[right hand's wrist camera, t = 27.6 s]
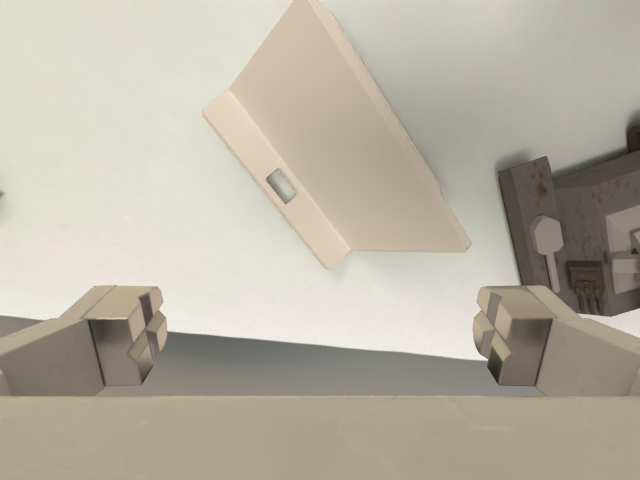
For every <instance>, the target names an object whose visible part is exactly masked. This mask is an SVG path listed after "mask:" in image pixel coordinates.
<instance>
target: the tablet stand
mask: <svg viewBox="0 0 640 480" xmlns="http://www.w3.org/2000/svg"><path fill="white" fill-rule="evenodd" d="M202 115H203V117H204V118H205V120H206V121H207V122H208V123H209V125H210V126H211V127H212V128H213V130H214V131H215V132H216V133H217V135H218V136H219V137H220V138H221V140H222V141H223V142H224V143H225V145H226V146H227V147H228V148H229V150H230V151H231V152H232V153H233V155H234V156H235V157H236V158H237V160H238V161H239V162H240V163H241V165H242V166H243V167H244V168H245V170H246V171H247V172H248V173H249V175H250V176H251V177H252V178H253V180H254V181H255V182H256V183H257V185H258V186H259V187H260V188H261V190H262V191H263V192H264V193H265V194H266V196H267V197H268V198H269V199H270V201H271V202H272V203H273V204H274V206H275V207H276V208H277V209H278V211H279V212H280V213H281V214H282V216H283V217H284V218H285V219H286V221H287V222H288V223H289V224H290V226H291V227H292V228H293V229H294V231H295V232H296V233H297V234H298V236H299V237H300V238H301V239H302V241H303V242H304V243H305V244H306V246H307V247H308V248H309V249H310V251H311V252H312V253H313V254H314V256H315V257H316V258H317V259H318V261H319V262H320V263H321V264H322V266H323V267H324V268H326V269H334V268H335V267H336V266H337V265H338V264H339V263H340V261H341V260H342V259H343V258H344V257H345V256H346V255H347V254H348V253H349V252H350V251H399V252H448V253H465V252H466V251H467V250H468V248H469V247H470V246H471V244H472V243H471V240H470V239H469V237H468V235H467V234H466V232H465V231H464V229H463V227H462V226H461V224H460V223H459V221H458V220H457V218H456V216H455V215H454V213H453V212H452V210H451V209H450V207H449V205H448V204H447V202H446V201H445V199H444V197H443V196H442V194H441V193H440V190H441V186H440V184H439V183H438V181H437V180H436V178H435V176H434V175H433V173H432V172H431V170H430V169H429V167H428V165H427V164H426V162H425V161H424V159H423V157H422V156H421V154H420V153H419V151H418V149H417V148H416V146H415V145H414V143H413V142H412V140H411V138H410V137H409V135H408V134H407V132H406V130H405V129H404V127H403V126H402V124H401V122H400V121H399V119H398V118H397V116H396V115H395V113H394V111H393V110H392V108H391V107H390V105H389V103H388V102H387V100H386V99H385V97H384V95H383V94H382V92H381V91H380V89H379V88H378V86H377V84H376V83H375V81H374V80H373V78H372V76H371V75H370V73H369V72H368V70H367V68H366V67H365V65H364V64H363V62H362V61H361V59H360V57H359V56H358V54H357V53H356V51H355V49H354V48H353V46H352V45H351V43H350V41H349V40H348V38H347V37H346V35H345V33H344V32H343V30H342V29H341V27H340V26H339V24H338V22H337V21H336V19H335V18H334V16H333V14H332V13H331V12H330V11H328V10H324V8H323V6H322V5H321V3H320V2H319V0H294V1H293V2H292V4H291V5H290V6H289V8H288V9H287V11H286V12H285V13H284V15H283V16H282V17H281V19H280V20H279V21H278V23H277V24H276V26H275V27H274V28H273V30H272V31H271V32H270V34H269V35H268V36H267V38H266V39H265V40H264V42H263V43H262V45H261V46H260V47H259V49H258V50H257V51H256V53H255V54H254V55H253V57H252V58H251V60H250V61H249V62H248V64H247V65H246V66H245V68H244V69H243V70H242V72H241V73H240V74H239V76H238V77H237V79H236V80H235V81H234V83H233V84H232V85H231V87H230V88H229V89H228V90H227V91H226V92H224V93H223V94H221V95H220V96H219V97H217V98H216V99H214V100H213V101H211V102H210V103H209V104H207V105H206V106H205V107H204V109H203V111H202ZM276 169H278V170H279V171H280V173H281V174H282V175H283V177H284V178H285V179H286V180H287V182H288V183H289V184H290V186H291V187H292V188H293V190H294V191H295V192H296V195H295V196H294V197H293V198H292V199H291V200H290V201H289V202H288V203H286V204H284V203H283V201H282V200H281V199H280V198H279V196H278V195H277V194H276V192H275V191H274V190H273V189H272V187H271V186H270V185H269V184H268V182H267V181H266V178H267V177H268V176H269V175H270V174H271V173H272V172H273V171H275V170H276Z"/></svg>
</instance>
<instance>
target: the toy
mask: <svg viewBox="0 0 640 480" xmlns="http://www.w3.org/2000/svg"><path fill="white" fill-rule="evenodd" d="M628 138H629V148H630V154H627V155H624V156H621V157H619V158H616V159H613V160H610V161H607V162H604V163H601V164H598V165H596V166H593V167H590V168H587V169H584V170H581V171H578V172H576V173H573V174H570V175H567V176H564V177H561V178H558V179H555V180H552V174H551V169H550V165H549V162H548V159H547V156H545V157H542V158H539V159H536V160H533V161H530V162H527V163H525V164H522V165H519V166H516V167H513V168H510V169H507V170H502V171H499V183H500V187H501V192H502V196H503V200H504V205H505V209H506V214H507V218H508V223H509V227H510V232H511V236H512V241H513V245H514V250H515V254H516V258H517V263H518V267H519V272H520V276H521V281H522V285H523V286H534V285H542V286H546V287H547V288H548V289H550V290H551V291H552V292H553V293H554V294H555V295H556V296H557V297H559V298H560V299H561V300H562V301H563V302H564V303H565V304H567V305H568V306H569V307H570V308H571V309H572V310H573V311H574V312H576V313H580V314H590V315H600V316H610V317H611V316H615V315H618V314H621V313H625V312H628V311H631V310H635V309H638V308H640V124H639V125H637V126H634V127H632V128H631V129H630V130H629V133H628Z"/></svg>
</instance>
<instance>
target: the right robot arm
mask: <svg viewBox="0 0 640 480" xmlns="http://www.w3.org/2000/svg"><path fill="white" fill-rule="evenodd" d="M162 303H163V299H162V294H161V290H160V289H159V288H158V287H157V286H117V285H107V286H94V287H93V288H92V289H91V290H89V291H88V292H87V293H86V294H85V295H84V296H83V297H81V298H80V299H79V300H78V301H77V302H76V303H75V304H74V305H72V306H71V307H70V308H69V309H68V310H67V311H66V312H64V313H63V314H62V315H61V316H60V317H59V318H58V319H49V320H46V321H43V322H41V323H38V324H36V325H33V326H31V327H28V328H25V329H23V330H20V331H18V332H15V333H13V334H10V335H8V336H5V337H2V338H0V480H640V338H638V337H635V336H632V335H630V334H627V333H625V332H622V331H620V330H617V329H615V328H612V327H609V326H607V325H604V324H602V323H599V322H597V321H594V320H591V319H582V318H581V317H580V316H579V315H578V314H577V313H576V312H574V311H573V310H572V309H571V308H570V307H569V306H568V305H567V304H565V303H564V302H563V301H562V300H561V299H560V298H559V297H557V296H556V295H555V294H554V293H553V292H552V291H551V290H550V289H548V288H547V287H546V286H542V285H534V286H486V287H481V289H480V291H479V293H478V298H477V303H478V305H479V307H480V308H481V311H480V312H479V313H478V314H477V315H476V316H475V317H474V323H473V338H474V342H475V345H476V348H477V350H478V352H479V353H480V354H481V355H482V356H484V357H486V358H487V359H488V364H487V367H488V369H489V370H490V372H491V374H492V375H493V377H494V379H495V380H496V382H497V383H498V385H503V386H536V389H538V390H539V391H540V392H542V393H543V394H544V395H546V396H94V395H96V394H97V393H98V392H100V391H101V390H103V389H104V386H136V385H142V384H143V382H144V380H145V378H146V377H147V375H148V374H149V372H150V370H151V369H152V367H153V364H152V359H153V358H154V357H156V356H158V355H159V354H160V353H161V352H162V350H163V348H164V346H165V341H166V337H167V322H166V317H165V316H164V315H163V314H162V313H161V312H160V311H159V308H160V307H161V305H162Z"/></svg>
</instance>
